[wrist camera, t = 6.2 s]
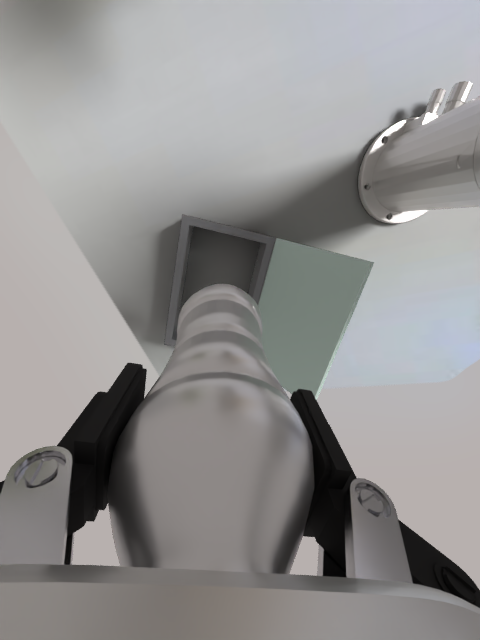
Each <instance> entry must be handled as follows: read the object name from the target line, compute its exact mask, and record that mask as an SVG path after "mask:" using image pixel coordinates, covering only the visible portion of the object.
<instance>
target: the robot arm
mask: <svg viewBox="0 0 480 640" xmlns="http://www.w3.org/2000/svg"><path fill="white" fill-rule="evenodd" d="M472 86H473V85H472V83H470V82H465V81H464V82H459V83H457V84H455V85H454V86H453V87H452V90H451V92H450V95H449V97H448V99H447V102H446V105H445V108H444V111H443V113H442V115H440V116H438V114H437V111H438V108H439V106H440V105H441V103H442V100H443V98H444V96H445V93H446V90H444V89H436V90H434V91H433V92H432V94H431V97H430V99H429V102H428V104H427V105H428V106H427V108H426V111H425V113H423V114H422V115H421V117H414V118H408V119H405V120H402V121H399V122H397V123H395V124H394V125H392V126H390V127H389V128H387V129H386V130H384V131H383V132H382V133H381V134H380V135H379V136H378V137H377V138H376V139H375V140H374V141H373V143H372V144H371V146H370V147H369V148H368V150H367V152H366V154H365V156H364V158H363V161H362V164H361V167H360V171H359V177H358V189H359V196H360V199H361V202H362V204H363V206H364V208H365V209H366V211H367V212H368V213H369V214H370V215H371V216H372V217H373V218H375V219H377V220H378V221H381V222H384V223H392V224H395V223H404V222H409V221H411V220H413V219H416V218H418V217H419V216H421V215H422V214H424V213H425V212H426V211H428V210H436V209H451V208H466V207H480V96H479V97H477V98H475V99H473V100H471V101H469V102H467V103H465V102H466V100H467V97H468V95H469V93H470V91H471V88H472ZM381 140H382V142H381ZM364 186H365V188H364ZM386 217H387V218H386ZM146 371H147V370H146V369H143V368H142V365H140V364H134V363H127V365H126V366H125V368H124V369H123V370H122V372H121V374H120V375H119V376H118V378H117V379H116V381H115V382H114V384H113V385H112V386H111V388H110V389H109V391H108V392H107V393H106V392H98V393H97V394H96V395H95V396H94V397H93V399H92V400H91V401H90V403H89V404H88V405H87V407H86V408H85V409H84V411H83V412H82V413H81V415H80V416H79V417H78V419H77V420H76V421H75V423H74V424H73V425H72V426H71V428H70V429H69V430H68V432H67V433H66V434H65V436H64V437H63V439H62V440H61V441H60V443H59V444H58V445H57V446H50V447H43V448H40V449H36V450H34V451H32V452H30V453H28V454H26V455H25V456H23V457H22V458H21V459H19V460H18V461H17V462H16V463H15V464H14V465H13V466H12V467H11V469H10V470H9V472H8V474H7V476H6V479H5V480H4V481H2V482H0V640H480V590H479V589H478V588H477V586H476V584H475V583H474V582H473V581H472V579H471V578H470V577H469V576H468V575H467V574H466V573H465V572H464V571H463V570H462V569H461V568H460V567H459V566H457V565H456V564H455V563H454V562H452V561H451V560H450V559H449V558H447V557H446V556H445V555H443V554H442V553H440V551H438V550H437V549H436V548H434V547H433V546H432V545H431V544H429V543H428V542H427V541H425V540H424V539H423V538H422V537H420V536H419V535H418V534H416V533H415V532H414V531H412V530H411V529H410V528H409V527H407V526H406V525H405V524H403V523H402V522H401V521H399V520H398V518H397V513H396V509H395V508H394V504H393V502H392V501H391V499H390V498H389V496H388V495H387V494H386V493H385V492H384V491H383V490H382V489H381V488H380V487H379V486H377V485H376V484H374V483H373V482H371V481H369V480H366V479H361V478H356V476H355V474H354V472H353V470H352V468H351V466H350V464H349V462H348V460H347V458H346V456H345V454H344V453H343V450H342V449H341V447H340V445H339V443H338V441H337V439H336V437H335V435H334V433H333V431H332V429H331V427H330V425H329V424H328V422H327V420H326V419H325V417H324V414H323V412H322V411H321V408H320V407H319V405H318V403H317V401H316V399H315V397H314V395H313V393H312V391H310V390H305V389H298V390H297V391H294V392H293V393H292V396H291V399H290V401H291V402H292V404H293V406H294V407H295V409H296V410H297V412H298V413H299V415H300V418H301V420H302V422H303V424H304V426H305V428H306V430H307V432H308V434H309V437H310V440H311V444H312V449H313V466H314V492H313V496H312V500H311V504H310V508H309V513H308V517H307V521H306V525H305V529H304V533H303V536H308V537H315V539H316V541H317V543H318V544H319V553H318V571H317V576H309V575H290V574H272V573H252V572H232V571H211V570H190V569H168V568H144V567H120V566H96V565H72V555H73V544H74V532H76V531H77V530H79V529H80V528H82V527H83V526H84V525H85V523H86V521H94V520H95V518H96V516H97V513H98V511H99V510H104V509H105V508H106V506H107V504H108V498H107V494H108V484H109V476H110V469H111V463H112V456H113V452H114V448H115V446H116V443H117V441H118V438H119V436H120V435H121V433H122V431H123V430H124V428H125V426H126V425H127V423H128V421H129V419H130V418H131V416H132V415H133V413H134V412H135V410H136V409H137V408H138V406H139V405H140V404H141V402H142V401H143V399H144V391H145V381H146Z"/></svg>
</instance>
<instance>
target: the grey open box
mask: <svg viewBox="0 0 480 640" xmlns="http://www.w3.org/2000/svg"><path fill="white" fill-rule="evenodd" d="M193 226H196V227H200V228H204V229H208V230H212V231H216V232H220V233H224V234H228V235H232V236H236V237H241V238H245V239H249V240H253V241H257V242H261V244H260V248H259V252H258V255H257V259H256V263H255V267H254V271H253V275H252V279H251V283H250V287H249V291H248V294H249V295H250V296H251V297H252V298H253V299H254V300H255V302H256V303H257V305H258V303H259V299H260V296H261V292H262V288H263V285H264V281H265V277H266V274H267V270H268V266H269V263H270V259H271V255H272V252H273V248H274V244H275V241H276V238H275V237H271V236H267V235H263V234H259V233H255V232H251V231H247V230H243V229H239V228H235V227H231V226H227V225H223V224H219V223H215V222H211V221H207V220H203V219H199V218H195V217H191V216H187V215H183V214H182V221H181V228H180V235H179V243H178V250H177V257H176V264H175V271H174V278H173V285H172V292H171V299H170V306H169V313H168V320H167V327H166V334H165V341H164V345H170V346H175V345H176V340H177V325H178V319H179V314H180V308H181V302H182V295H183V289H184V283H185V277H186V270H187V264H188V258H189V251H190V245H191V239H192V232H193Z"/></svg>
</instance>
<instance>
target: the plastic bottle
mask: <svg viewBox="0 0 480 640" xmlns="http://www.w3.org/2000/svg"><path fill="white" fill-rule="evenodd" d="M262 331H263V327H262V315H261V312H260V309H259V307H258V305H257V303H256V302H255V300H254V299H253V298H252V297H251V296H250V295H249V294H247V293H246V292H245V291H243V290H242V289H240V288H238V287H236V286H233V285H229V284H214V285H210V286H207V287H205V288H202V289H201V290H199V291H198V292H196V293H195V294H193V295H192V296H191V297H190V298H189V299H188V300H187V301H186V303H185V304H184V306H183V307H182V309H181V312H180V314H179V319H178V325H177V340H176V345H175V349H174V351H173V353H172V356H171V357H170V359H169V361H168V363H167V365H166V367H165V369H164V371H163V373H162V374H161V376H160V377H159V379H158V380H157V381H156V383H155V384H154V386H153V387H152V388H151V390H150V391H149V392H148V394H147V395H146V397H145V398H144V399H143V401H142V402H141V404H140V405H139V406H138V408H137V409H136V410H135V412H134V413H133V415H132V416H131V418H130V419H129V421H128V423H127V425H126V426H125V428H124V430H123V431H122V433H121V435H120V436H119V438H118V441H117V443H116V446H115V448H114V452H113V456H112V463H111V469H110V476H109V484H108V494H107V498H108V503H109V512H110V519H111V526H112V533H113V538H114V543H115V548H116V551H117V555H118V559H119V563H120V566H121V567H144V568H168V569H190V570H211V571H232V572H252V573H272V574H289V573H290V570H291V567H292V565H293V562H294V559H295V556H296V554H297V551H298V548H299V545H300V542H301V540H302V537H303V533H304V529H305V525H306V521H307V517H308V513H309V508H310V504H311V500H312V496H313V492H314V466H313V449H312V444H311V440H310V437H309V434H308V432H307V430H306V428H305V426H304V424H303V422H302V420H301V418H300V415H299V413H298V412H297V410H296V409H295V407H294V406H293V404H292V402H291V401H290V399H289V397H288V396H287V394H286V393H285V391H284V389H283V388H282V386H281V384H280V383H279V381H278V380H277V378H276V376H275V375H274V373H273V371H272V369H271V367H270V364H269V362H268V359H267V357H266V355H265V353H264V350H263V344H262Z"/></svg>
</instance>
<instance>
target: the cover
mask: <svg viewBox="0 0 480 640" xmlns="http://www.w3.org/2000/svg"><path fill="white" fill-rule="evenodd" d="M373 264H374V262H370V261H366V260H362V259H358V258H354V257H350V256H346V255H342V254H338V253H334V252H330V251H326V250H322V249H319V248H315V247H311V246H307V245H303V244H299V243H295V242H291V241H287V240H283V239H279V238H276V242H275V246H274V249H273V253H272V257H271V260H270V264H269V268H268V271H267V275H266V279H265V282H264V286H263V290H262V293H261V297H260V301H259V304H258V307H259V309H260V312H261V315H262V327H263V331H262V344H263V350H264V353H265V355H266V357H267V359H268V362H269V364H270V367H271V369H272V371H273V373H274V375H275V376H276V378H277V380H278V381H279V383H280V384H281V386H282V387H283V388H284V389H286V390H287V391H289V392H290V393H291V394H292V393H293V392H294V391H297V390H298V389H305V390H310V391H312V393H313V395H314V397H315V399H316V401H317V398H318V396H319V393H320V391H321V389H322V386H323V384H324V381H325V379H326V377H327V374H328V372H329V369H330V367H331V365H332V362H333V360H334V357H335V355H336V353H337V350H338V348H339V345H340V343H341V341H342V338H343V336H344V333H345V331H346V329H347V326H348V324H349V321H350V319H351V317H352V314H353V312H354V309H355V307H356V305H357V302H358V300H359V297H360V295H361V293H362V290H363V288H364V285H365V283H366V281H367V278H368V276H369V273H370V271H371V269H372V266H373Z"/></svg>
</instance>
